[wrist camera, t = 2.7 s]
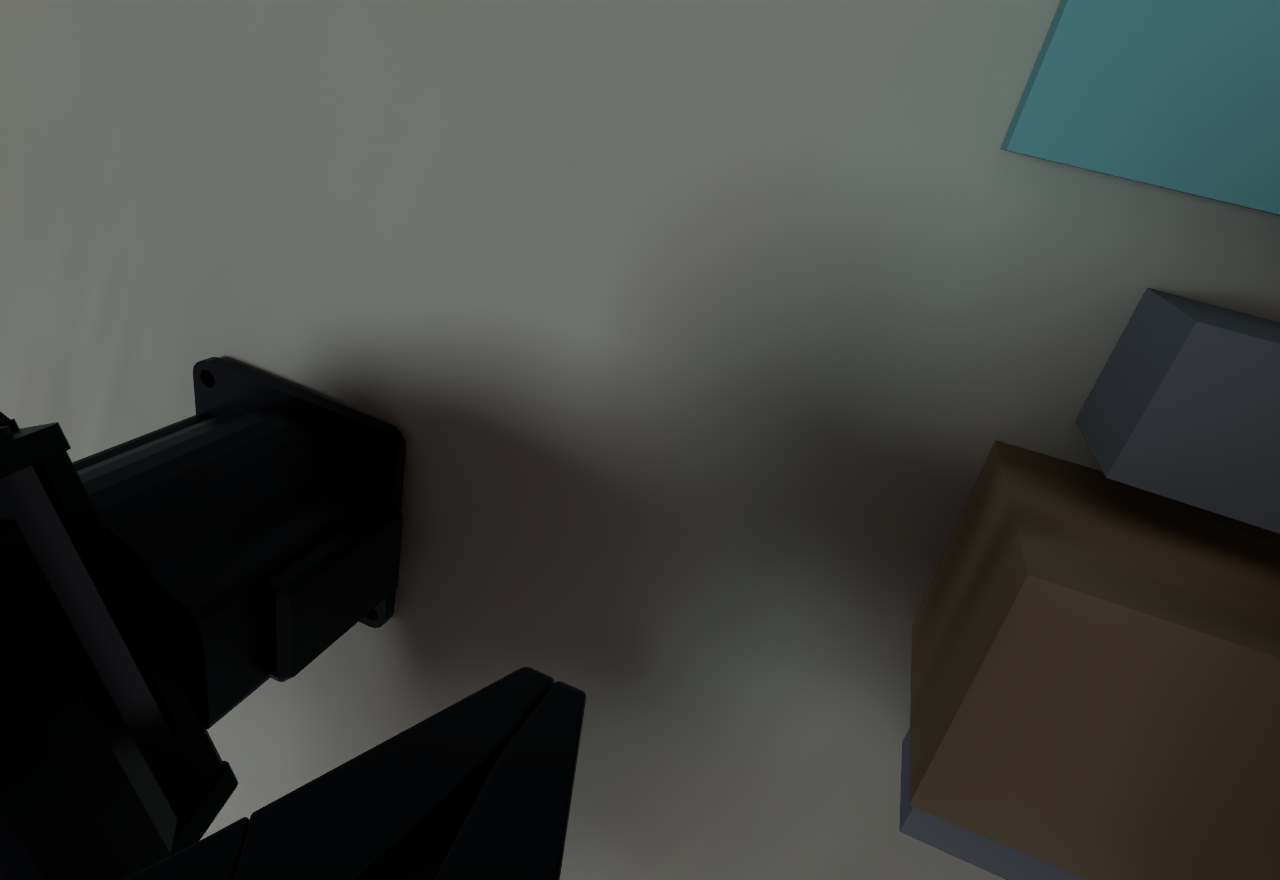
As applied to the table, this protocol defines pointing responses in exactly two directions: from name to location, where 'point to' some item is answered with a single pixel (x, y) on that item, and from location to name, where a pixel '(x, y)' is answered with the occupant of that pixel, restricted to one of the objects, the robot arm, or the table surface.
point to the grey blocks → (1163, 464)
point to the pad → (1161, 96)
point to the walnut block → (1101, 678)
